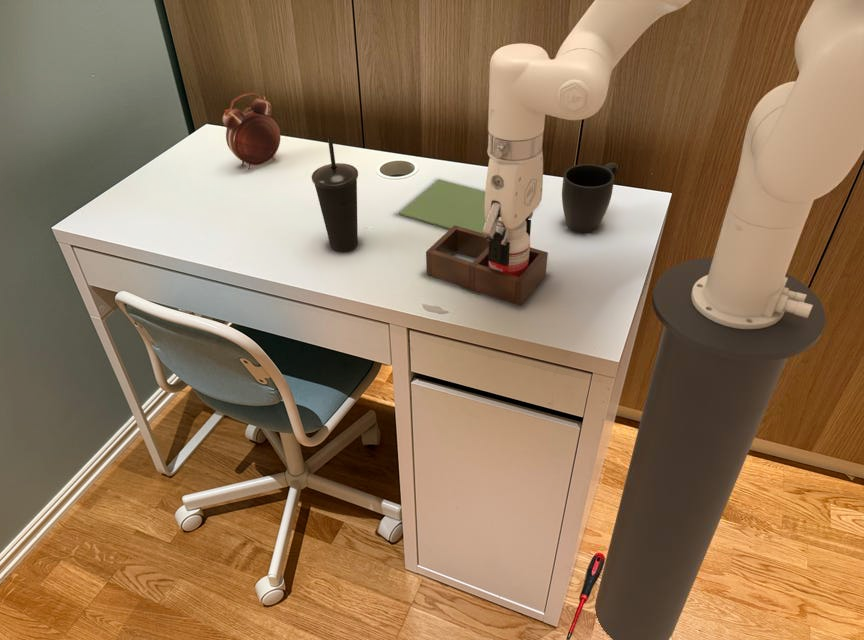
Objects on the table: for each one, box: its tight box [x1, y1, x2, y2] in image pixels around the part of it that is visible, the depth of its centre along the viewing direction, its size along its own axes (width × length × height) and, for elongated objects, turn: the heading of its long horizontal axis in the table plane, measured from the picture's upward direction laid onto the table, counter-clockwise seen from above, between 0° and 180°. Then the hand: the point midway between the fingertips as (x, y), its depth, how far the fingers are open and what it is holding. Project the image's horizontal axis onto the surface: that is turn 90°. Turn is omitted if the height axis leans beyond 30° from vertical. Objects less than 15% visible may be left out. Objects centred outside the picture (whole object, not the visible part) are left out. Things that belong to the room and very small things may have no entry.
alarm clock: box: [222, 91, 281, 170], centre depth 146 cm, size 11×5×15 cm, turn 124°
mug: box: [561, 162, 619, 234], centre depth 122 cm, size 8×12×10 cm
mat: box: [398, 179, 486, 233], centre depth 131 cm, size 20×14×1 cm
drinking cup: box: [311, 136, 359, 253], centre depth 119 cm, size 8×8×20 cm
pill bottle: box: [489, 217, 531, 277], centre depth 110 cm, size 6×6×11 cm
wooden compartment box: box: [425, 225, 549, 306], centre depth 114 cm, size 17×9×4 cm, turn 55°
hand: (509, 250), depth 110 cm, fingers closed on pill bottle, 6 cm apart
